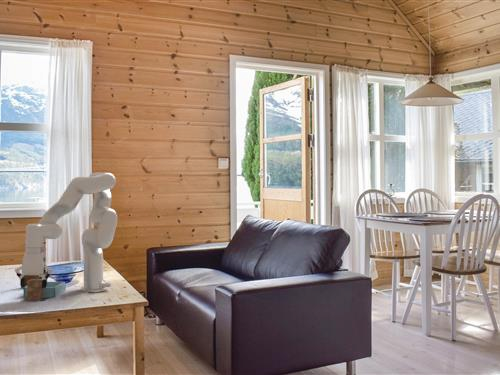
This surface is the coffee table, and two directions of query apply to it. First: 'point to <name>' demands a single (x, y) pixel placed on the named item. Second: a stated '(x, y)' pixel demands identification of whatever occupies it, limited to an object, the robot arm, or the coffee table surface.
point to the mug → (32, 277)
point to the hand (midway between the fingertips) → (33, 287)
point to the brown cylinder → (34, 290)
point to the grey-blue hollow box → (39, 300)
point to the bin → (51, 289)
